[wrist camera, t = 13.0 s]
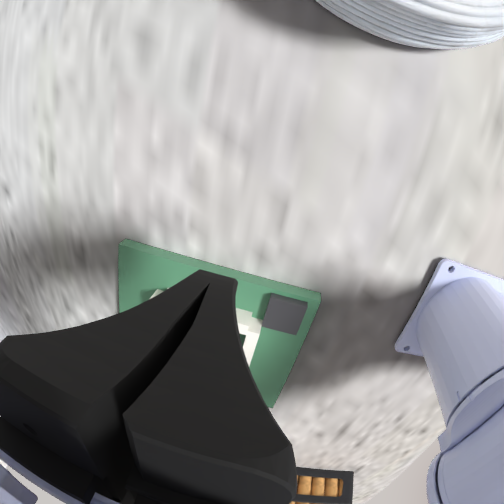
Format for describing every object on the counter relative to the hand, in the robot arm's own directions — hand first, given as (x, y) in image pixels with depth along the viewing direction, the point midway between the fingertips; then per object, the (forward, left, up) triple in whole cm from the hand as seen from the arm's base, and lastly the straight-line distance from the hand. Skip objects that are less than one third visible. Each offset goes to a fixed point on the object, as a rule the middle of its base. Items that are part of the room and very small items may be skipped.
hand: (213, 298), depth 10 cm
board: (+2, +10, -9) cm, 14 cm away
